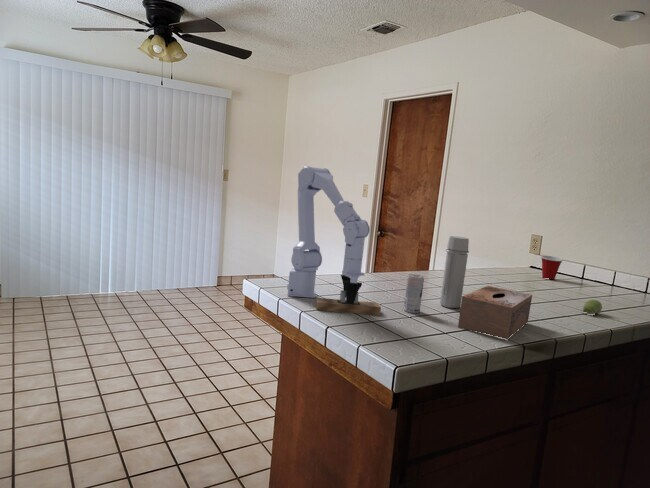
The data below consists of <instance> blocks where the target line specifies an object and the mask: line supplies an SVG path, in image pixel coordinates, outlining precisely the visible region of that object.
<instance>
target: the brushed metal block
mask: <svg viewBox="0 0 650 488" xmlns="http://www.w3.org/2000/svg"><path fill="white" fill-rule="evenodd" d="M339 293H340V295H339V300H340V302H339V303H341V304H345V300H346V291H344V289H341V290H340V292H339ZM359 294H360V293H359V291H358V292H357V295H356V298H355V301H354V304H353V305H358V301H359Z"/></svg>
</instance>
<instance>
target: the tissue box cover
mask: <svg viewBox="0 0 650 488" xmlns="http://www.w3.org/2000/svg"><path fill="white" fill-rule="evenodd" d="M532 300H533V294H531V293H530V294H529V293H525V292H520V291H516V290H511V289H506V288H502V287H501V288H500V287H496V286H491V285H486V286H484V287H481V288H479V289H477V290H475V291H472V292H469V293H467V294H465V295H462V299H461V306H460V309H459V316H458V317H459V319H458V325H457V328H458V327H459V328H458V329H462V328H464V329H463V330H465V329H468V330H467V331H469V330H472V331H471V332H473V331H477V332H481V333H486V334H490V335H493V336H498V337H502V338H506V339H508V338H509V337H510V336H511V335H512V334H514V333H515V332H516V331H517V330H518V329H520V328H521V327H522V326H523V325H525V324H526V323H527V322H528V323H529V319H530V318H529V317H530V311H531V305H532ZM526 325H527V324H526ZM526 325H525V326H526Z"/></svg>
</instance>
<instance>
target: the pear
mask: <svg viewBox="0 0 650 488" xmlns="http://www.w3.org/2000/svg"><path fill="white" fill-rule="evenodd" d="M584 303H585V304H584V305H583V309H581V312H582V311H583V312H587V313H596V312H599V313H601V311H602V310H603V306H602V305H603V304H602V302H600V301H599V300H597V299H590V300H587V301H586V302H584Z"/></svg>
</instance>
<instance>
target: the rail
mask: <svg viewBox="0 0 650 488" xmlns="http://www.w3.org/2000/svg"><path fill="white" fill-rule="evenodd" d="M339 302H340V299H336V298H324V297H323V298H322V297H316V304H315V308H316V311H325V312H335V313H336V312H337V313H348V314H349V313H350V314H362V315H375V316H380V315H381V311H382V309H381V308H382V306H381V305H380V304H379V302H376V301H375V302H373V301H359V300H358V305H353V304H347V302H346V299H345V304H341V303H339Z"/></svg>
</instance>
